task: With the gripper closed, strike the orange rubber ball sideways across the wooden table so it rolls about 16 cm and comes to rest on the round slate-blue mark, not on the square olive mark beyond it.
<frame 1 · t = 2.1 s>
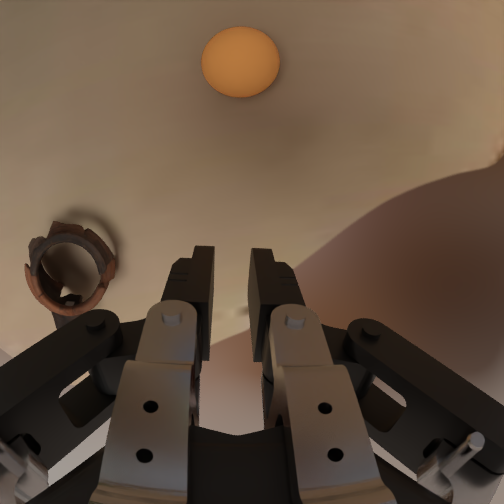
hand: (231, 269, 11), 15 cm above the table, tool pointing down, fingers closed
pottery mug: (77, 264, 28), on the table
ball: (240, 61, 18), on the table
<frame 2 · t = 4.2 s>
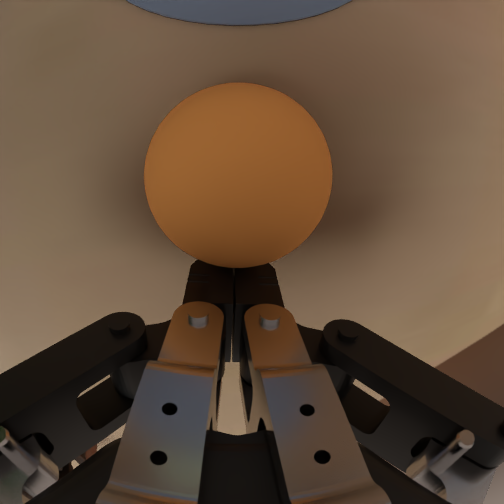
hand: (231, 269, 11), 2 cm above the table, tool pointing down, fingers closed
ball: (238, 174, 9), on the table
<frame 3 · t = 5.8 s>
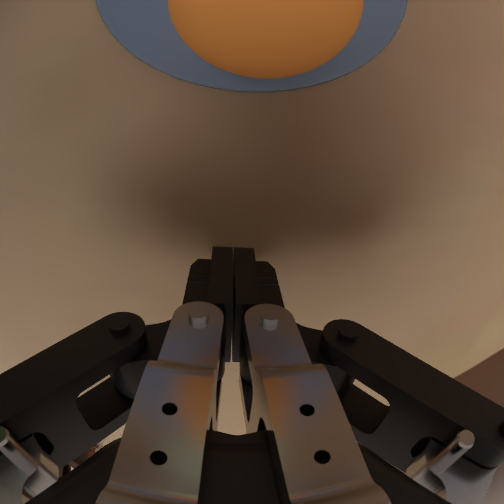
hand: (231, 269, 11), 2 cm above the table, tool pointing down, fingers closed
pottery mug: (57, 433, 21), on the table
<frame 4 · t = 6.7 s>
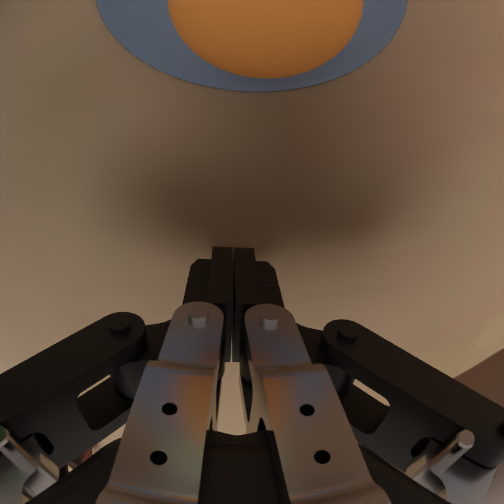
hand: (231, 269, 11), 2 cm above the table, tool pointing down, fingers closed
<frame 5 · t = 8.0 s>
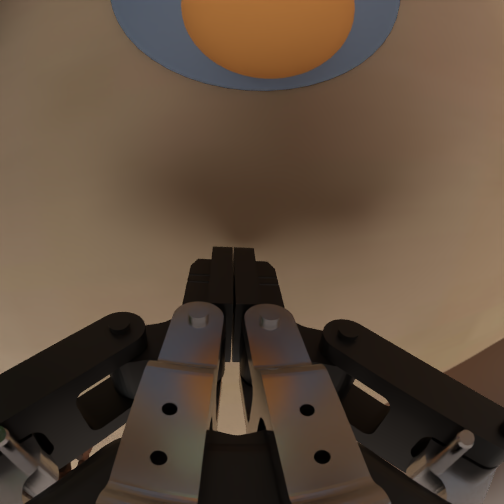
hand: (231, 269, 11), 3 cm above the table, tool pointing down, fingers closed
ball: (268, 3, 7), on the table
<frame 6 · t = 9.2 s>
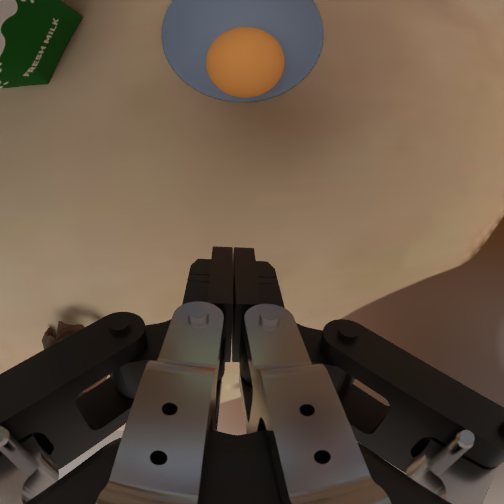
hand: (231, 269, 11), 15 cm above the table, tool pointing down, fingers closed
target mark: (243, 28, 19), on the table
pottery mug: (83, 343, 33), on the table
ball: (245, 61, 18), on the table
milk carton: (40, 41, 17), on the table
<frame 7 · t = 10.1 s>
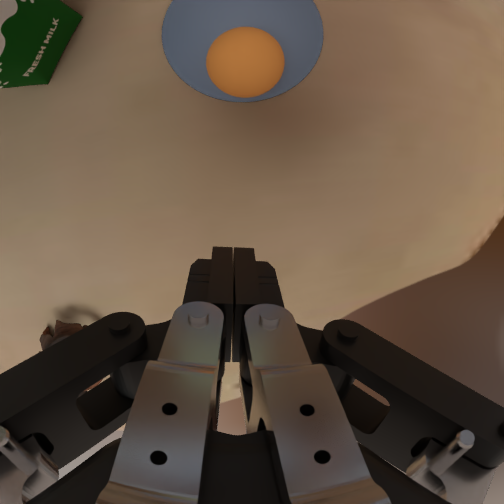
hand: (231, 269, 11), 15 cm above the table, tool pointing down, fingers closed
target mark: (243, 28, 19), on the table
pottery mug: (81, 342, 33), on the table
ball: (245, 61, 18), on the table
milk carton: (40, 41, 17), on the table
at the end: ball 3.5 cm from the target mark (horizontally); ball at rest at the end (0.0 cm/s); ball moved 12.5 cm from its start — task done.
